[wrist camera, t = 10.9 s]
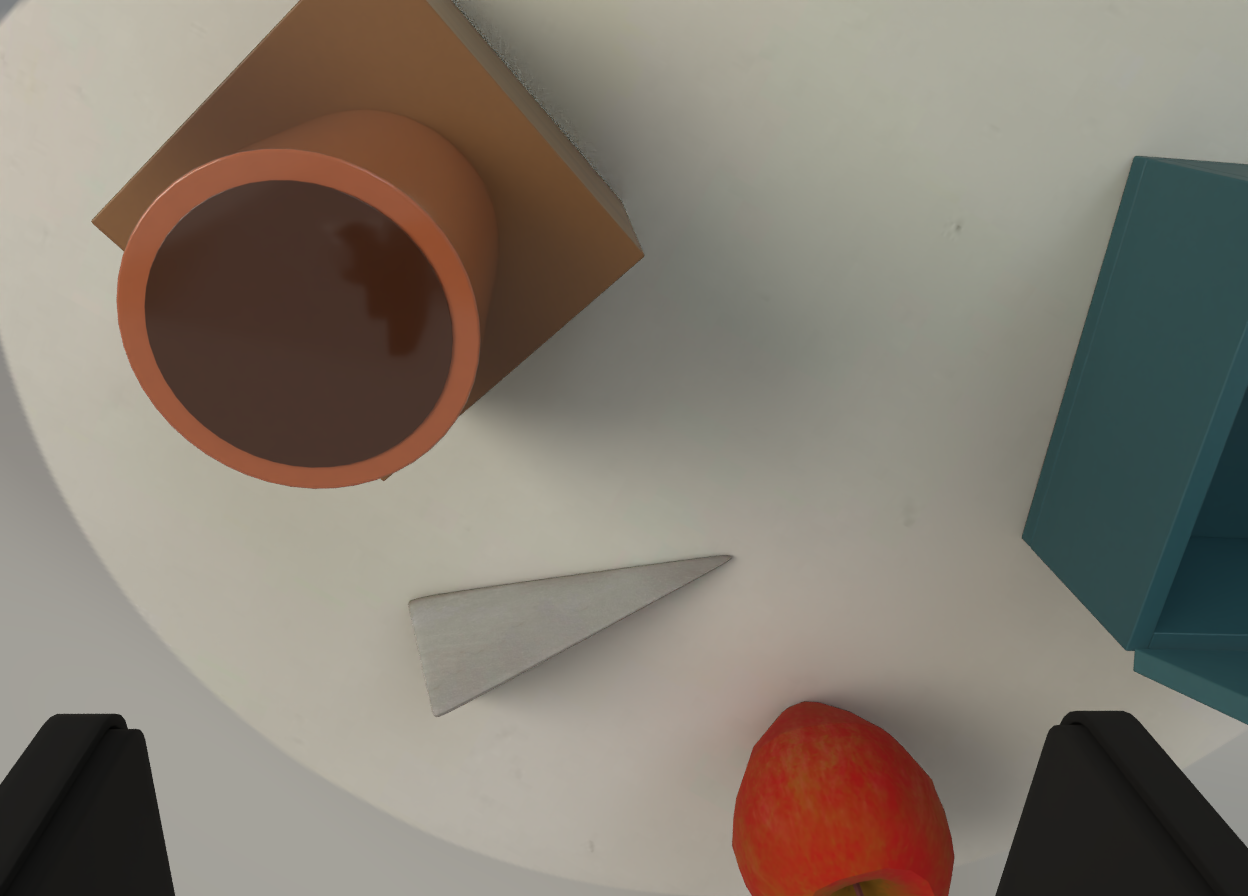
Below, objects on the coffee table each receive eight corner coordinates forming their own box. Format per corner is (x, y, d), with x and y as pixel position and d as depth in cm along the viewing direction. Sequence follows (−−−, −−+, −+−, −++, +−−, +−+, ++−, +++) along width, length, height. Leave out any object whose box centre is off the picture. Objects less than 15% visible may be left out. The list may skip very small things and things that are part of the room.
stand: (411, -47, 28) (366, -71, 21) (622, 203, 32) (645, 256, 25) (197, 174, 30) (89, 222, 23) (417, 384, 34) (383, 482, 27)
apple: (693, 664, 40) (740, 868, 31) (883, 626, 40) (991, 818, 31) (721, 805, 44) (770, 1028, 34) (895, 770, 44) (995, 984, 34)
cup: (369, 50, 22) (283, 63, 15) (550, 250, 24) (551, 346, 17) (194, 228, 24) (36, 320, 16) (381, 401, 26) (316, 549, 19)
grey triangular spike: (683, 449, 36) (381, 608, 35) (741, 557, 35) (436, 721, 34) (674, 468, 42) (414, 605, 41) (723, 561, 41) (462, 702, 40)
